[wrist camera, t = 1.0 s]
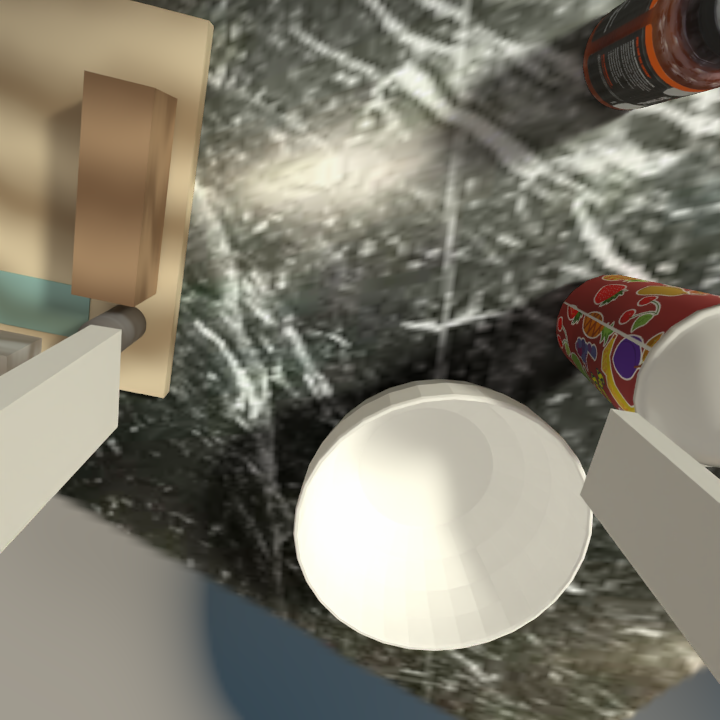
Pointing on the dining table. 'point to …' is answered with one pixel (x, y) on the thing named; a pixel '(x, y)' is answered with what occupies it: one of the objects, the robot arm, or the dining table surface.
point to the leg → (121, 189)
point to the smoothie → (650, 355)
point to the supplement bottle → (654, 52)
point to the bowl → (441, 516)
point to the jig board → (61, 162)
